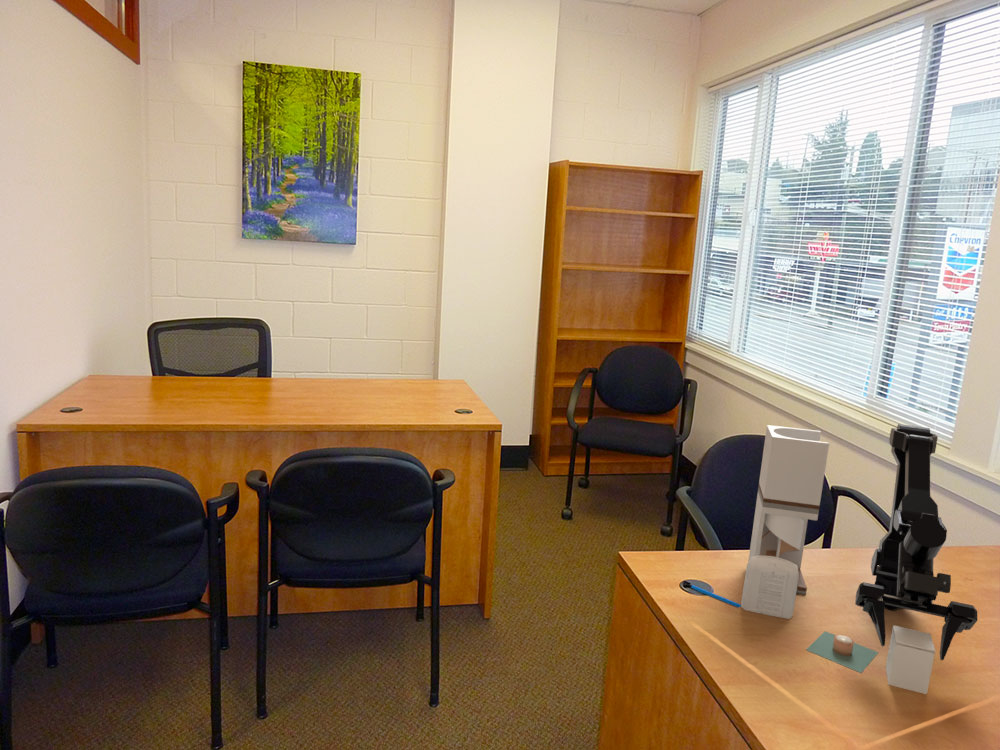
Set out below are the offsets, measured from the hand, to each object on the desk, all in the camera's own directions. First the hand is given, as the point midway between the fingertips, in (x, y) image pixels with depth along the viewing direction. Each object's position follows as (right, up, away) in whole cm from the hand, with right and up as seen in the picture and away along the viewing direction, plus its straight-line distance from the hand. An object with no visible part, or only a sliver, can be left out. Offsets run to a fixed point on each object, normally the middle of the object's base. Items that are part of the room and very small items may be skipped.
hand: (912, 652), depth 131 cm
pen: (-24, 0, +29) cm, 38 cm away
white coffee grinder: (-9, +1, +39) cm, 40 cm away
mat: (-7, -4, +11) cm, 14 cm away
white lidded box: (0, -6, +3) cm, 7 cm away
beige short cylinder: (-7, -4, +11) cm, 14 cm away
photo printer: (-17, -1, +25) cm, 30 cm away
